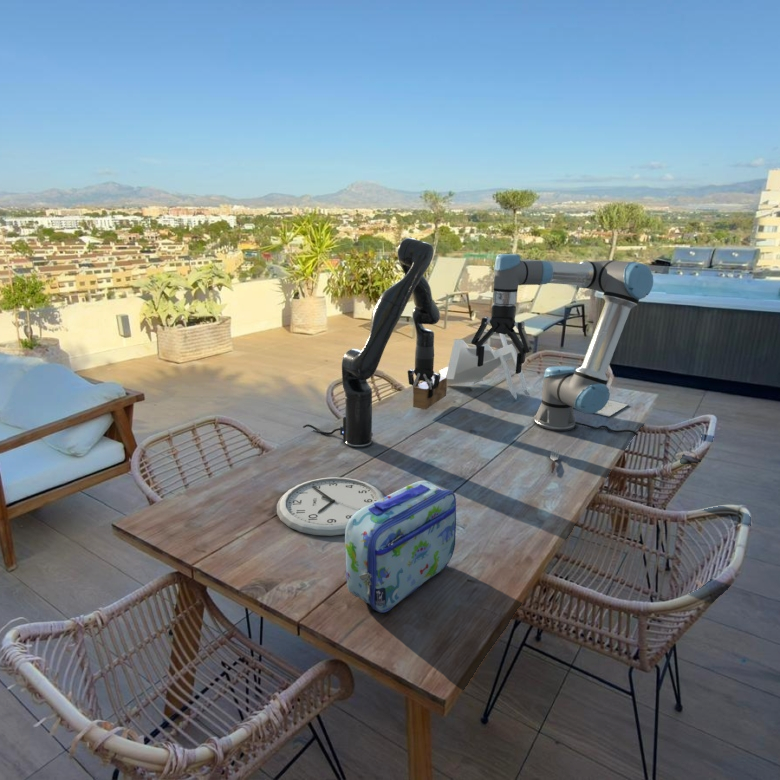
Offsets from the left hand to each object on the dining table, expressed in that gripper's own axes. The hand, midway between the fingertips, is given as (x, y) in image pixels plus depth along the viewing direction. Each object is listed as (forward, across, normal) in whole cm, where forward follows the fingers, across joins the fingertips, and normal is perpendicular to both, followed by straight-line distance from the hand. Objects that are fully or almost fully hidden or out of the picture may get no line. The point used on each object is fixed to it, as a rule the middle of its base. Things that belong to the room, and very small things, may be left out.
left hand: (423, 396), depth 213 cm
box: (+4, 0, +7) cm, 8 cm away
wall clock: (+7, +12, -80) cm, 81 cm away
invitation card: (+7, +63, +48) cm, 79 cm away
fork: (+7, +58, -22) cm, 63 cm away
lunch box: (+7, +44, -100) cm, 109 cm away
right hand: (-22, +37, -21) cm, 48 cm away
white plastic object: (+7, +10, +39) cm, 41 cm away
